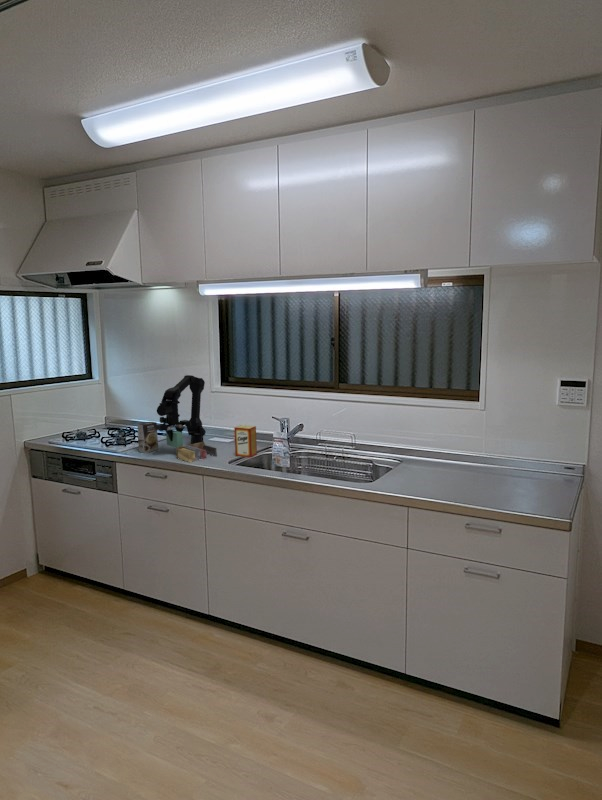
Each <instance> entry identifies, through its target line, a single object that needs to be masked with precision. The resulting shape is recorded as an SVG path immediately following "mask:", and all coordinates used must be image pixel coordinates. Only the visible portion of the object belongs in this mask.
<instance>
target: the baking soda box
mask: <svg viewBox="0 0 602 800" xmlns="http://www.w3.org/2000/svg"><path fill="white" fill-rule="evenodd" d="M257 448H258V447H257V426H256V425H247V424H245V425H243V424H241V425H240V424H239V425H238V426H235V427H234V449H235V450H234V452H235V457H240V458H241V457H244V458H253V457H255V456H257V455H258V453H257V452H258V450H257Z"/></svg>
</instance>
